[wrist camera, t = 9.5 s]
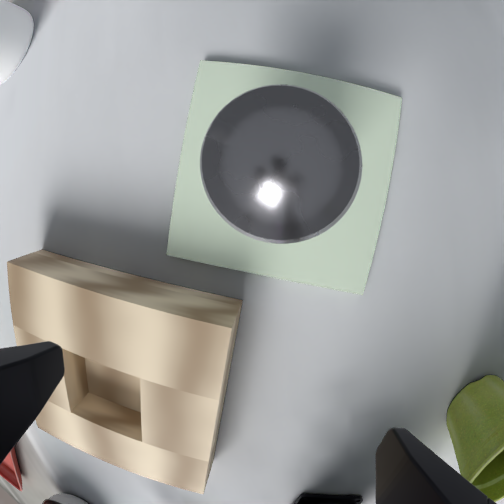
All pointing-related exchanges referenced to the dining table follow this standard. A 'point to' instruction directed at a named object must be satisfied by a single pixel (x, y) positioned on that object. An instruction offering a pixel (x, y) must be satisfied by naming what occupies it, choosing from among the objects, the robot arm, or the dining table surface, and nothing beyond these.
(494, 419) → the plant pot
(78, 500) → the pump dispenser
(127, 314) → the housing
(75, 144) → the dining table surface
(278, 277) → the mat
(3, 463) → the plant saucer
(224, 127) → the grey metallic cylinder
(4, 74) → the cup
